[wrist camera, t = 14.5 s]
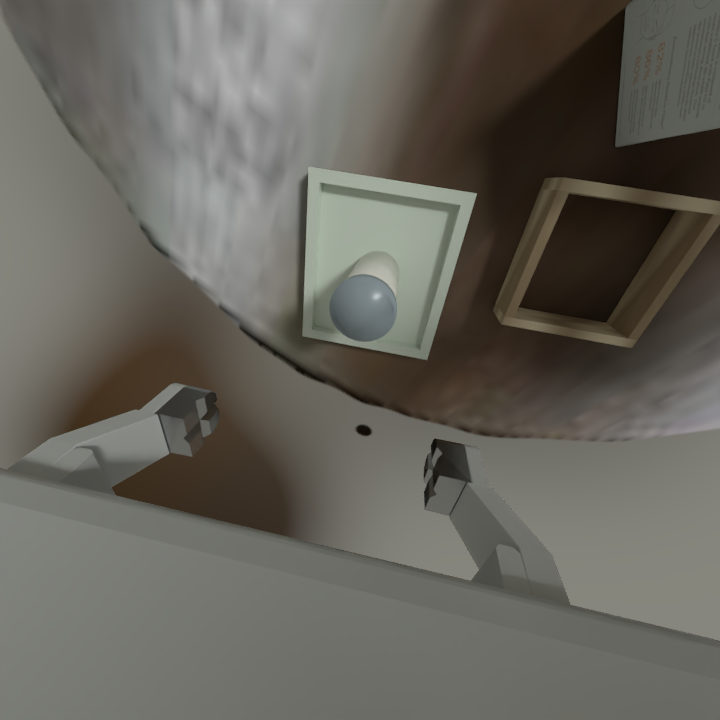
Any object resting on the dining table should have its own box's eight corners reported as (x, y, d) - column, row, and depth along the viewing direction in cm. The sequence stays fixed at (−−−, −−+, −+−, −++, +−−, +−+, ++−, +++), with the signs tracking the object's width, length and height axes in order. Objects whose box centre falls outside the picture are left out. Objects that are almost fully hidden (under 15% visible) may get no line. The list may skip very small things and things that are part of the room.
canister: (406, 253, 28) (403, 284, 20) (396, 301, 31) (389, 347, 22) (356, 244, 28) (332, 271, 20) (350, 292, 31) (326, 335, 22)
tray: (473, 192, 25) (476, 193, 24) (426, 352, 34) (427, 360, 32) (313, 167, 26) (308, 166, 25) (306, 330, 35) (302, 336, 33)
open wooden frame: (693, 200, 24) (734, 203, 21) (609, 331, 30) (631, 348, 27) (544, 177, 24) (563, 177, 21) (492, 310, 30) (501, 324, 27)
